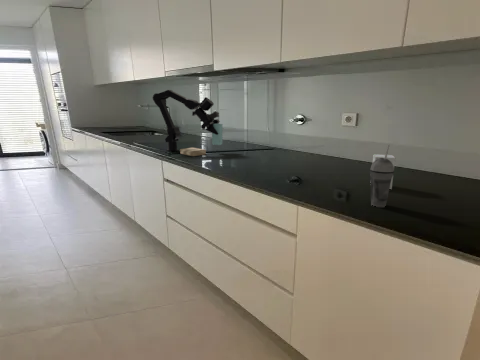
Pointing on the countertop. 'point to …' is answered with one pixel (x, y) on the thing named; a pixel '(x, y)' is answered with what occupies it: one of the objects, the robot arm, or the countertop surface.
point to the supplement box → (389, 157)
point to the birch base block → (193, 151)
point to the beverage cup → (381, 180)
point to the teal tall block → (217, 138)
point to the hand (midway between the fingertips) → (219, 133)
